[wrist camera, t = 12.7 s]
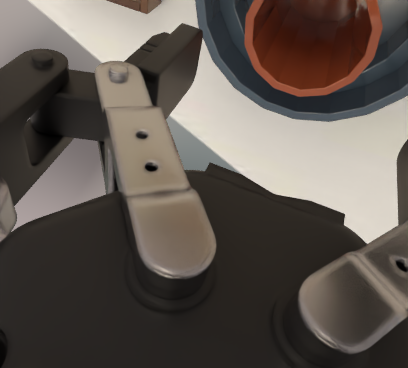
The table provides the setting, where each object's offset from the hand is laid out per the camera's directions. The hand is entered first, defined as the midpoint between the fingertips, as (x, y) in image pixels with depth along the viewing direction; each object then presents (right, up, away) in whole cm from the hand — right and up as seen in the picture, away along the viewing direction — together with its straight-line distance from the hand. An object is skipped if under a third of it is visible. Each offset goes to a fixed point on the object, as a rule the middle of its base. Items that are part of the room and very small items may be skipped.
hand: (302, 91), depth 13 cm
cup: (+4, +10, +10) cm, 15 cm away
